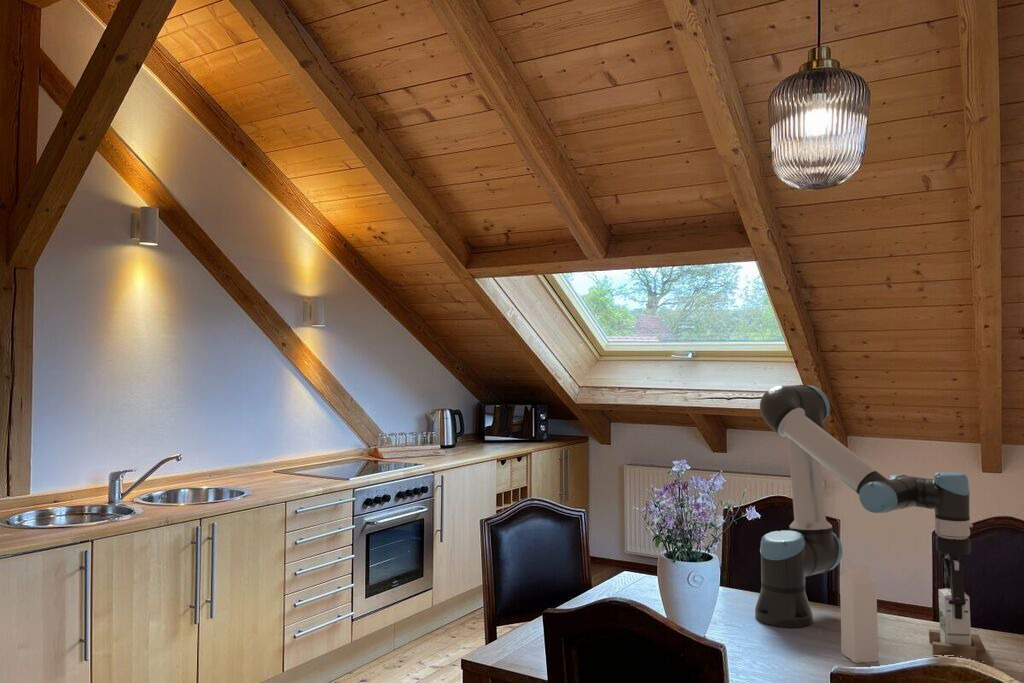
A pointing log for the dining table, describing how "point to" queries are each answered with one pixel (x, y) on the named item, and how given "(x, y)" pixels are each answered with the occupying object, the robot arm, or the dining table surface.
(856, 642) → the milk
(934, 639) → the brown square tray
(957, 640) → the syrup box
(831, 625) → the dining table surface
